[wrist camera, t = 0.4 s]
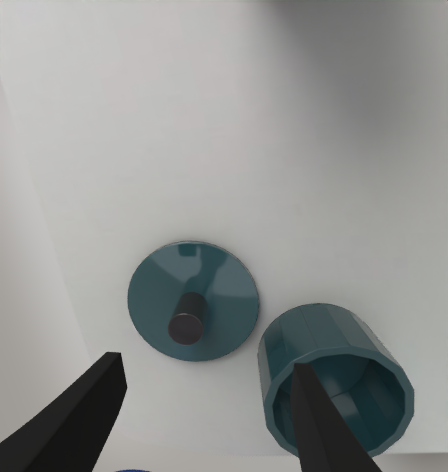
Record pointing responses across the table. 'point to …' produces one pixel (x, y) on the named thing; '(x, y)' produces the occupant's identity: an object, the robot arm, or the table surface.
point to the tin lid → (193, 301)
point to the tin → (335, 375)
